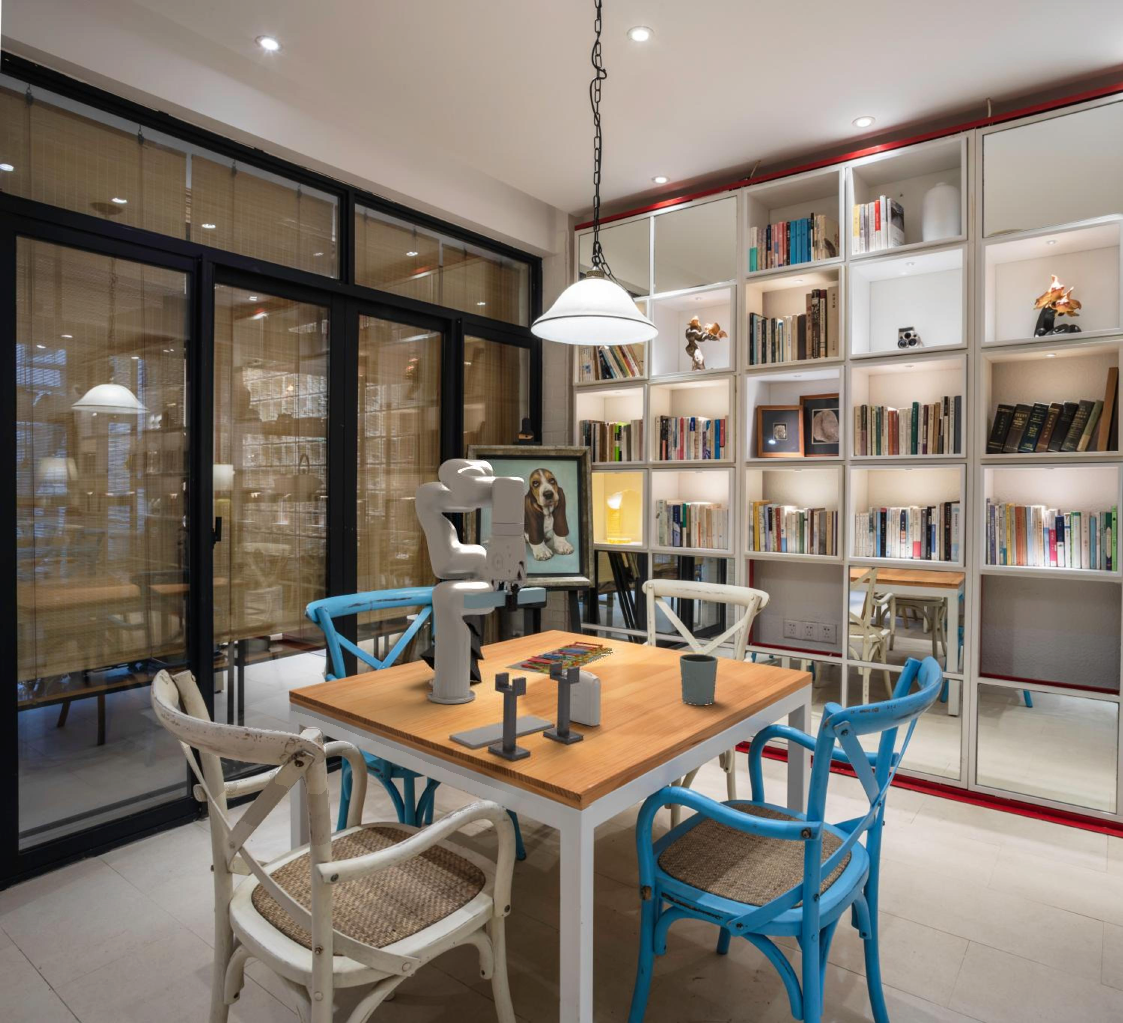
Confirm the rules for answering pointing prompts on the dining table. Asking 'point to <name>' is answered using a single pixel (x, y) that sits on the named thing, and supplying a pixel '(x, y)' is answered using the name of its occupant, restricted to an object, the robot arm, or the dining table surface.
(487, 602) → the rail
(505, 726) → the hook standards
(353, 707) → the dining table surface
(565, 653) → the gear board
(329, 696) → the dining table surface
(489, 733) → the felt mat
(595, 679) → the photo printer
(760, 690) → the dining table surface
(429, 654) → the decorative tree
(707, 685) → the grey green cup
